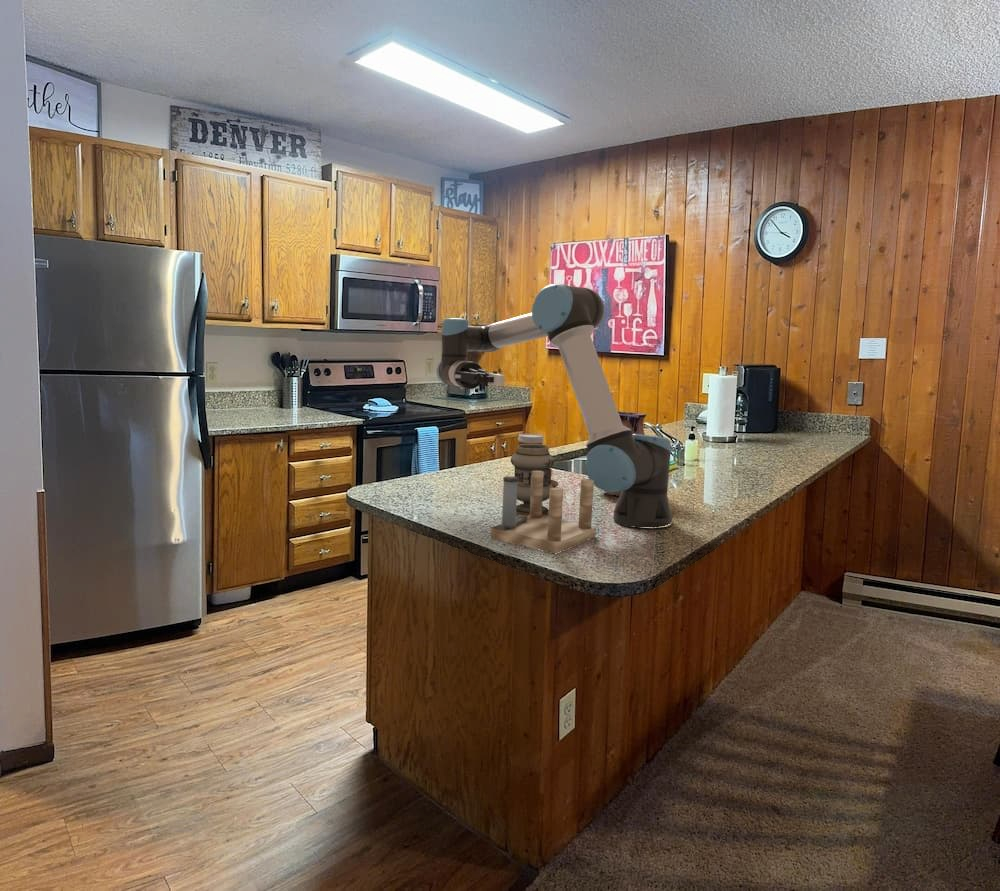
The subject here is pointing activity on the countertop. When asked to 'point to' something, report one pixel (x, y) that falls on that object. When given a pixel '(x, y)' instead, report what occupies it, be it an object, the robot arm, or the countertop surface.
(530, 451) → the apothecary jar
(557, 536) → the ash stool
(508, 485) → the folding leg
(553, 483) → the cup and saucer
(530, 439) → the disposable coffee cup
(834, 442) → the countertop surface
